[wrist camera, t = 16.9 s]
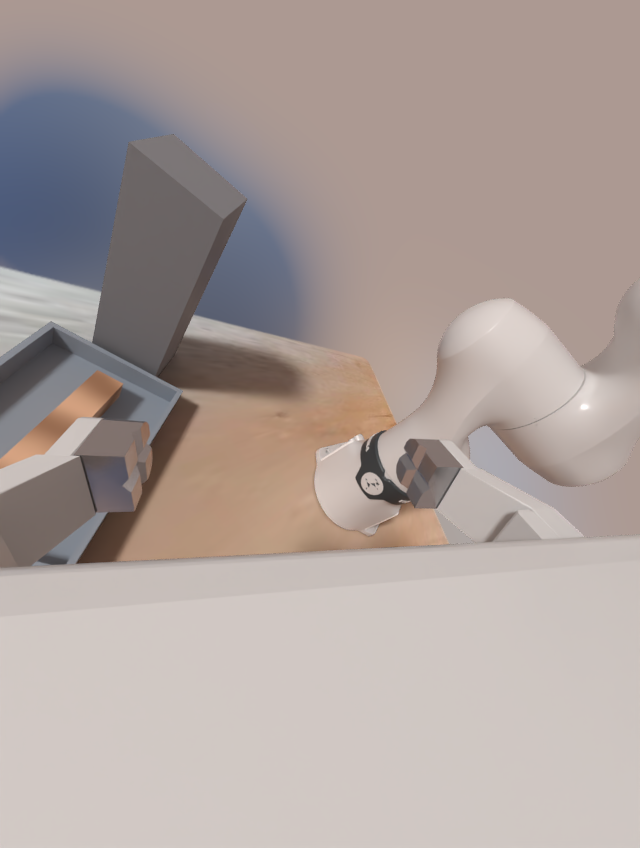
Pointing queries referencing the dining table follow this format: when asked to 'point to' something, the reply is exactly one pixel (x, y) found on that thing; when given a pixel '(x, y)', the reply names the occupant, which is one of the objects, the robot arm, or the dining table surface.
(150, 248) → the post
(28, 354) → the tray
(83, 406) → the rectangular block
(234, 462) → the dining table surface
